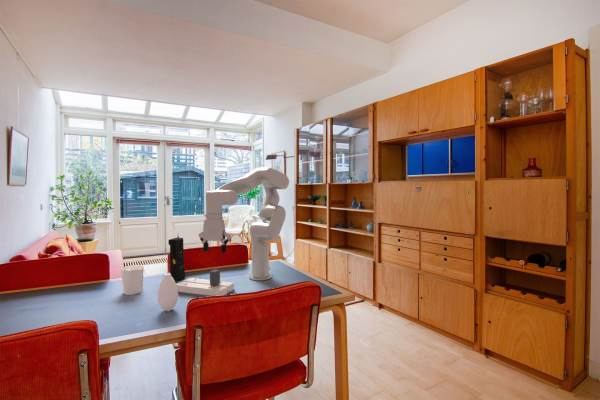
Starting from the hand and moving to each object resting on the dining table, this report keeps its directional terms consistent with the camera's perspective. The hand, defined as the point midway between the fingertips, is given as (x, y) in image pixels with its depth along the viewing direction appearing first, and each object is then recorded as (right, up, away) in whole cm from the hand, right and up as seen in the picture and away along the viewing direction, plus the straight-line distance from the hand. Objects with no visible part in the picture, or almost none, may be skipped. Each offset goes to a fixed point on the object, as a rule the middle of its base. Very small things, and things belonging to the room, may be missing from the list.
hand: (214, 252), depth 151 cm
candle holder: (-41, -20, +3) cm, 45 cm away
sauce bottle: (-14, -21, -20) cm, 32 cm away
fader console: (-6, -20, +3) cm, 21 cm away
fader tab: (0, -19, +1) cm, 19 cm away
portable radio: (-27, -19, +22) cm, 40 cm away
